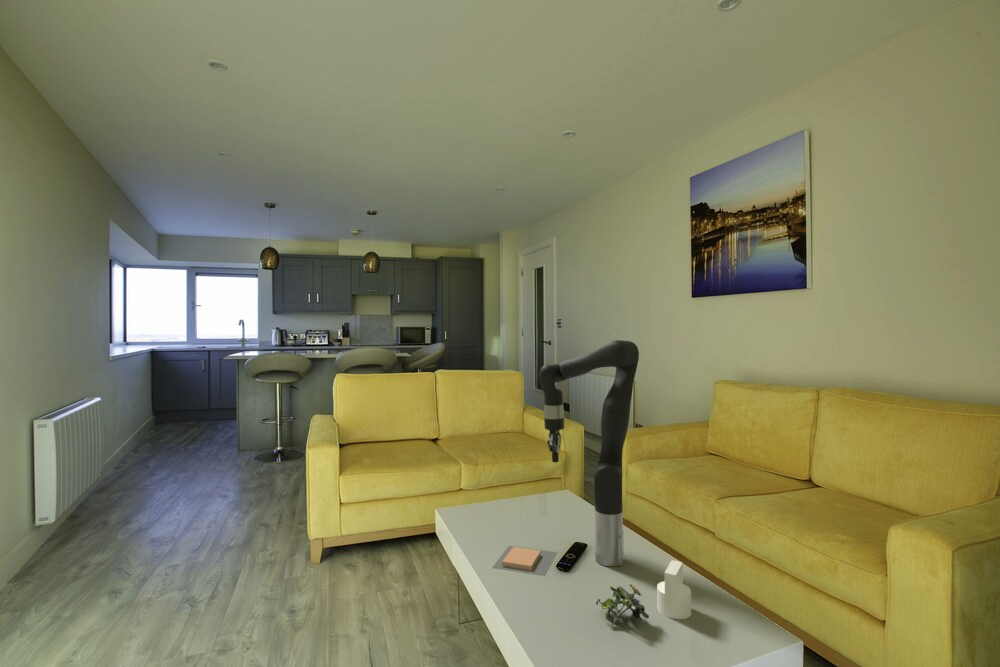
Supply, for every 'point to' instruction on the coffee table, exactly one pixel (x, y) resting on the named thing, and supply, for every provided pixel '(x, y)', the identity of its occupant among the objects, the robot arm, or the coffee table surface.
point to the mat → (540, 566)
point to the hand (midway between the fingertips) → (555, 461)
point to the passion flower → (624, 603)
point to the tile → (521, 558)
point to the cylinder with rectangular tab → (674, 593)
